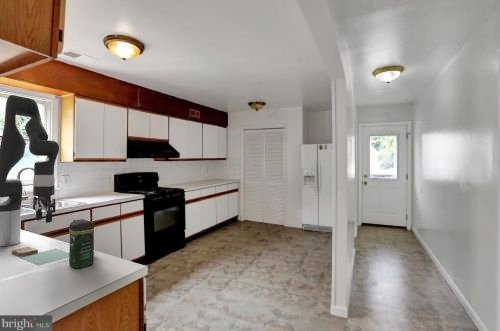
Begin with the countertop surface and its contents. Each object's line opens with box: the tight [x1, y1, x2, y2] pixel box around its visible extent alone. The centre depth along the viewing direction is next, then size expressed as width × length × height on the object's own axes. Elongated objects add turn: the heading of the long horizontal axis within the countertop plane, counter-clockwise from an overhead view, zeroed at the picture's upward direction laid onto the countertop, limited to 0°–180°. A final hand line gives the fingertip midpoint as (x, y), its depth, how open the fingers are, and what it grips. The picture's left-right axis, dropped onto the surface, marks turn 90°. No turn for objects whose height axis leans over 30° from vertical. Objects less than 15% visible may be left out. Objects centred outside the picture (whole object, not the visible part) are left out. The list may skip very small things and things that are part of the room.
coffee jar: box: [68, 218, 95, 269], centre depth 109 cm, size 10×8×19 cm
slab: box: [11, 246, 39, 257], centre depth 120 cm, size 2×6×9 cm
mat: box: [19, 248, 69, 266], centre depth 116 cm, size 17×14×1 cm
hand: (43, 221), depth 117 cm, fingers open, 8 cm apart
